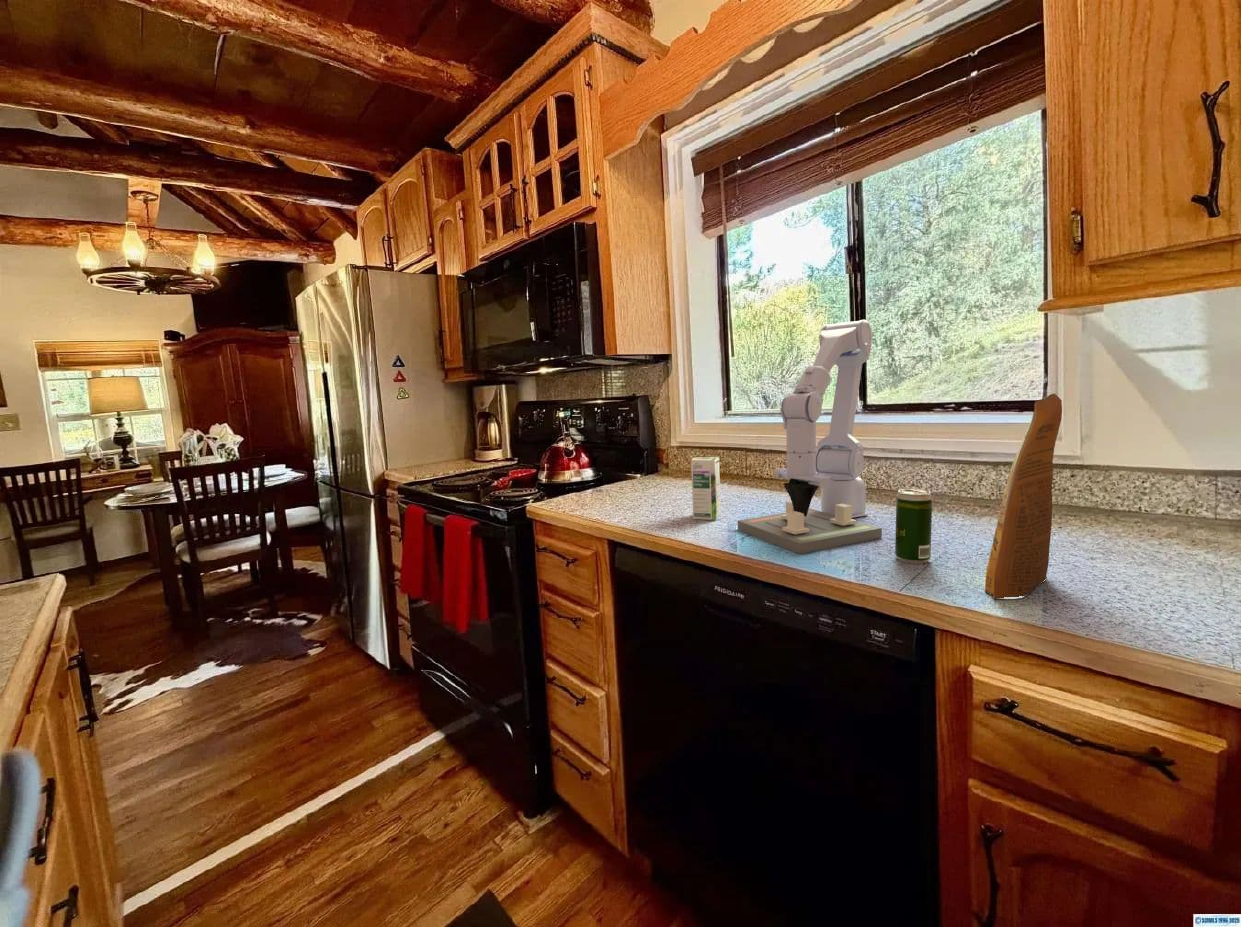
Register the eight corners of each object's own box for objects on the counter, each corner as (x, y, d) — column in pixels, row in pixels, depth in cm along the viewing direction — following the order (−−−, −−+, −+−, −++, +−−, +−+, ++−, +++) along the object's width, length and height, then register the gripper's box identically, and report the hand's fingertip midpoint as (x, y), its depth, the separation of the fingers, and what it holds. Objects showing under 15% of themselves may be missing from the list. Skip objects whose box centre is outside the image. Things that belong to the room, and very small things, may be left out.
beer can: (937, 561, 92) (939, 492, 90) (916, 567, 89) (918, 496, 88) (908, 553, 96) (910, 487, 95) (888, 558, 94) (889, 491, 92)
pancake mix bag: (1069, 576, 82) (1082, 391, 78) (1027, 612, 71) (1040, 398, 67) (1017, 565, 88) (1026, 392, 84) (970, 598, 76) (978, 399, 72)
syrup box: (692, 519, 128) (690, 459, 126) (698, 514, 133) (696, 455, 131) (716, 520, 126) (714, 459, 124) (721, 514, 131) (719, 455, 129)
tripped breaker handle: (794, 515, 117) (794, 499, 117) (805, 519, 114) (805, 502, 114) (780, 517, 116) (780, 501, 116) (791, 521, 113) (791, 504, 112)
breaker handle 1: (796, 527, 108) (796, 510, 107) (809, 531, 105) (809, 513, 104) (782, 530, 107) (782, 512, 106) (794, 534, 103) (794, 516, 103)
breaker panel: (810, 517, 125) (810, 508, 124) (881, 537, 106) (881, 527, 106) (737, 529, 117) (737, 520, 117) (800, 553, 99) (799, 543, 99)
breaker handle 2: (843, 519, 112) (843, 502, 112) (856, 523, 109) (856, 505, 108) (829, 521, 111) (829, 504, 110) (842, 525, 108) (843, 508, 107)
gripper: (763, 450, 116) (764, 511, 118) (810, 457, 103) (810, 526, 105) (789, 447, 119) (790, 507, 120) (838, 453, 105) (838, 521, 107)
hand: (801, 516), depth 113 cm, fingers closed
